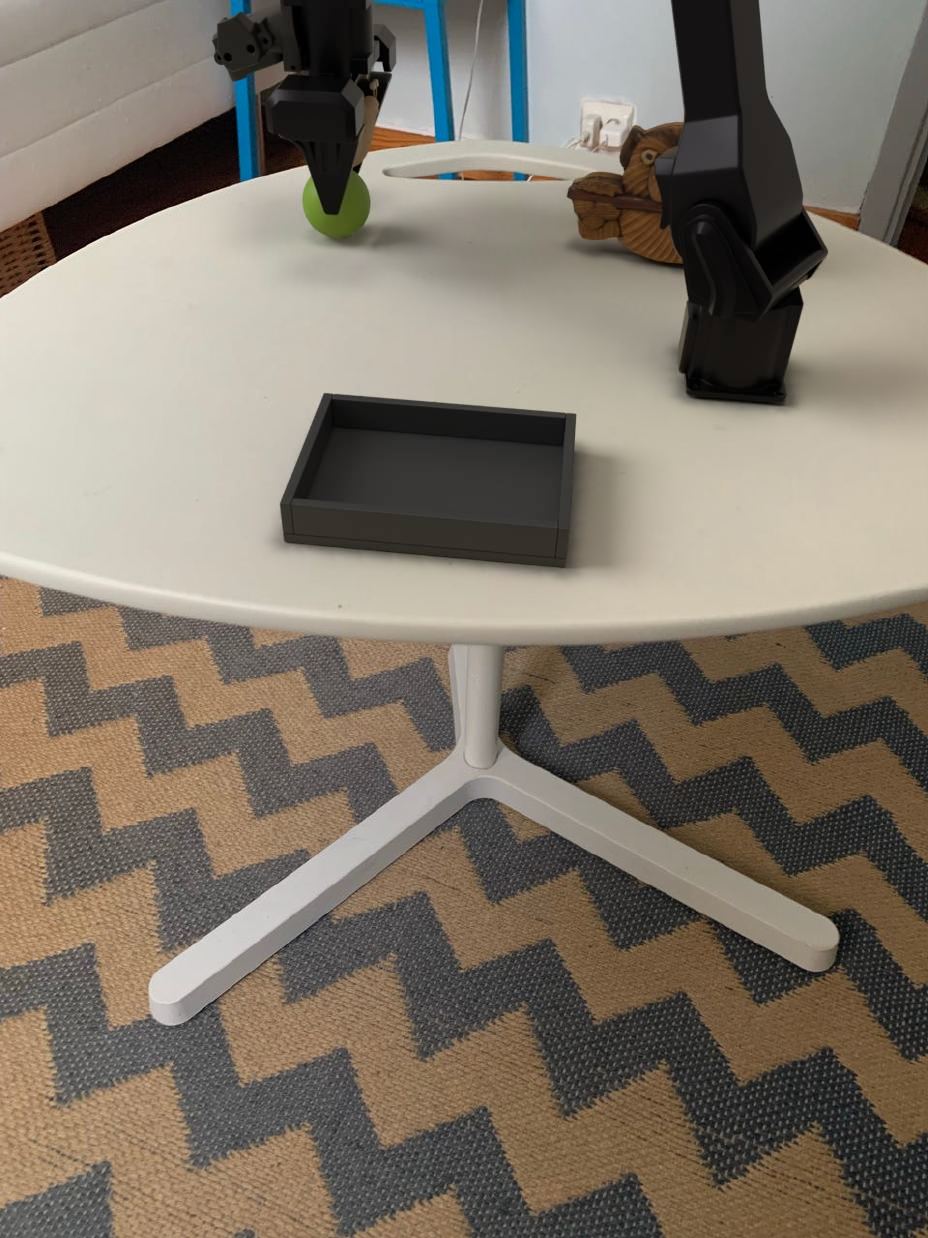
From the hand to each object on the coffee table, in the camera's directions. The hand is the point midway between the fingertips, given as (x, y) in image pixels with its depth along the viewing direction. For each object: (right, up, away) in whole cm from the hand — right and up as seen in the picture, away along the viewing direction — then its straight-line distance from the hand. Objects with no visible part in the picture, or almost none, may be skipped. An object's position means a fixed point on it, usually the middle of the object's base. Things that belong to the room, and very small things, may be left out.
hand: (342, 193), depth 83 cm
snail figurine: (0, -3, +3) cm, 4 cm away
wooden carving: (+26, -5, +1) cm, 26 cm away
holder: (+8, -27, -23) cm, 36 cm away
